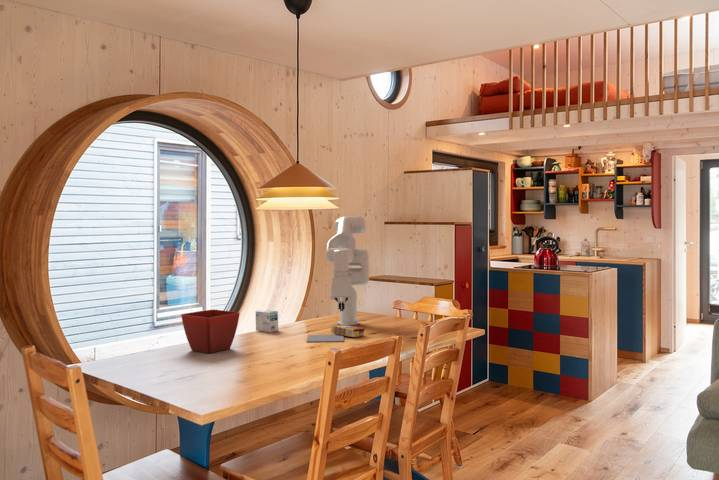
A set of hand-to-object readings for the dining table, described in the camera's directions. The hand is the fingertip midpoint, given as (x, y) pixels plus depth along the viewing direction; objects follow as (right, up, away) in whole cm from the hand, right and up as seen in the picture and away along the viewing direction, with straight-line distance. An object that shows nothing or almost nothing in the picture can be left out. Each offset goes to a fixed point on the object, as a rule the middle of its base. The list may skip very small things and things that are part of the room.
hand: (341, 310), depth 293 cm
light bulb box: (-41, -14, +23) cm, 49 cm away
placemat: (-8, -14, 0) cm, 16 cm away
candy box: (+9, -11, +3) cm, 15 cm away
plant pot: (-59, -15, -23) cm, 65 cm away
